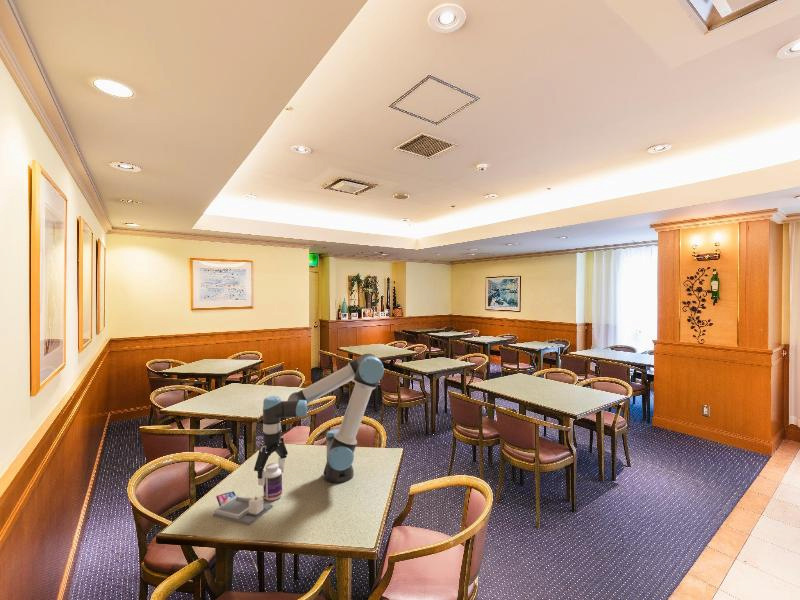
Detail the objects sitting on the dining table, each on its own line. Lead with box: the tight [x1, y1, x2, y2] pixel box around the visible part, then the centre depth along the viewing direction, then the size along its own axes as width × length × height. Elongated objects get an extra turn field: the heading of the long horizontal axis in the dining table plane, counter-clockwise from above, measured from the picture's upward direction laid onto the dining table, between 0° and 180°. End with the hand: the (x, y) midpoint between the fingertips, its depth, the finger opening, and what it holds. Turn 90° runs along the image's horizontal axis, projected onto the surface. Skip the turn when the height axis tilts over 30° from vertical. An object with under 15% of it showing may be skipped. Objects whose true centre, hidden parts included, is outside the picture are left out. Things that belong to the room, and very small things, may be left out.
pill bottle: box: [262, 462, 283, 501], centre depth 175 cm, size 8×8×14 cm
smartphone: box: [216, 491, 237, 507], centre depth 173 cm, size 8×1×15 cm
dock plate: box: [212, 495, 274, 526], centre depth 163 cm, size 19×14×7 cm
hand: (271, 478), depth 175 cm, fingers open, 13 cm apart
